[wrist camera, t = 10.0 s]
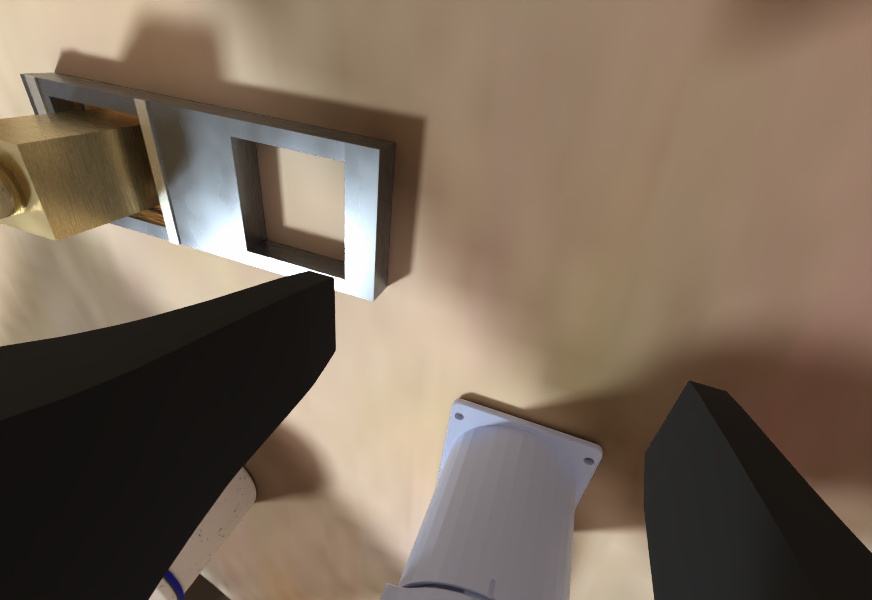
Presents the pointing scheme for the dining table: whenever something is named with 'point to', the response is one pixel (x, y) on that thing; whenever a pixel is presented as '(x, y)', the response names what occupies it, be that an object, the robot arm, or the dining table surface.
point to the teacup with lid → (208, 537)
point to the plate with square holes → (238, 178)
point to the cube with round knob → (72, 171)
